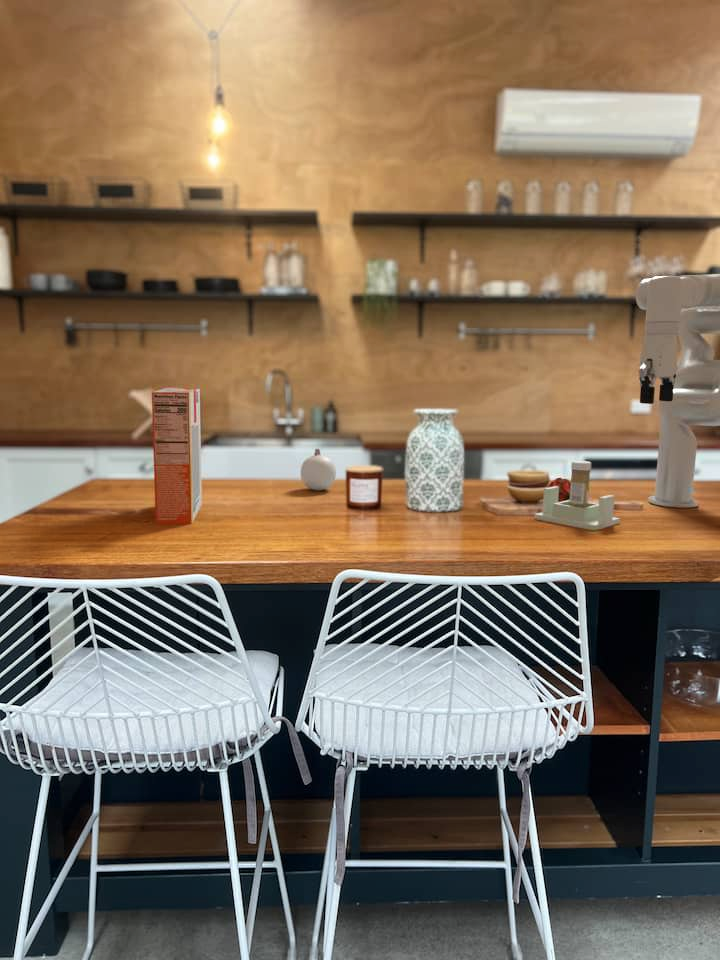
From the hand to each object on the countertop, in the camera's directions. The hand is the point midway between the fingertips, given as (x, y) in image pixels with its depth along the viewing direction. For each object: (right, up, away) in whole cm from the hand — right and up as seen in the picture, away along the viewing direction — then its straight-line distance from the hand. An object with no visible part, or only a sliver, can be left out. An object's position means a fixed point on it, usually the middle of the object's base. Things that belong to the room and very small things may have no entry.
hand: (656, 402), depth 175 cm
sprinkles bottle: (-19, -28, +1) cm, 34 cm away
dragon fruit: (-18, -26, +17) cm, 36 cm away
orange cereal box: (-116, -27, +2) cm, 119 cm away
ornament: (-84, -22, +36) cm, 94 cm away
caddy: (-19, -29, +1) cm, 35 cm away
